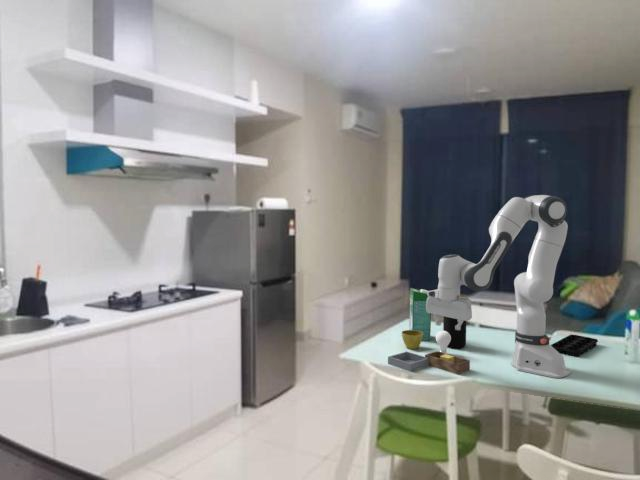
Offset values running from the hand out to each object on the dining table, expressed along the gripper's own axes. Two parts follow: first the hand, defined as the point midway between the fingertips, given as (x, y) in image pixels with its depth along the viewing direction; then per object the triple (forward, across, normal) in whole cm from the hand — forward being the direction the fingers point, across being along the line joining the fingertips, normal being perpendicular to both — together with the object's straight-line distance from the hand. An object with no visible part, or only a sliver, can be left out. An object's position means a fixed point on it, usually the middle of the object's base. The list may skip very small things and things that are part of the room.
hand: (447, 327), depth 195 cm
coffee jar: (+17, +17, -30) cm, 39 cm away
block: (+16, 0, 0) cm, 16 cm away
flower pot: (+17, +28, -12) cm, 35 cm away
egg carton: (+18, -21, -72) cm, 77 cm away
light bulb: (+17, +12, -14) cm, 25 cm away
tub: (+17, +12, +10) cm, 23 cm away
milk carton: (+17, +37, -29) cm, 50 cm away
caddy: (+17, 0, 0) cm, 17 cm away
